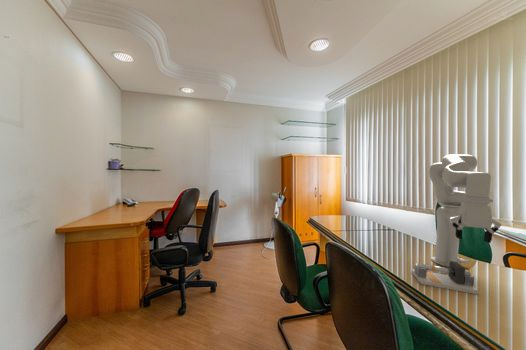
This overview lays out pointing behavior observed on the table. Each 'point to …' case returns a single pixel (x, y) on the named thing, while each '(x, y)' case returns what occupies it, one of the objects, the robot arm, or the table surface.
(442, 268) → the pipe jig
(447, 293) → the table surface
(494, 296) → the table surface
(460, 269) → the collar
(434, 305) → the table surface
